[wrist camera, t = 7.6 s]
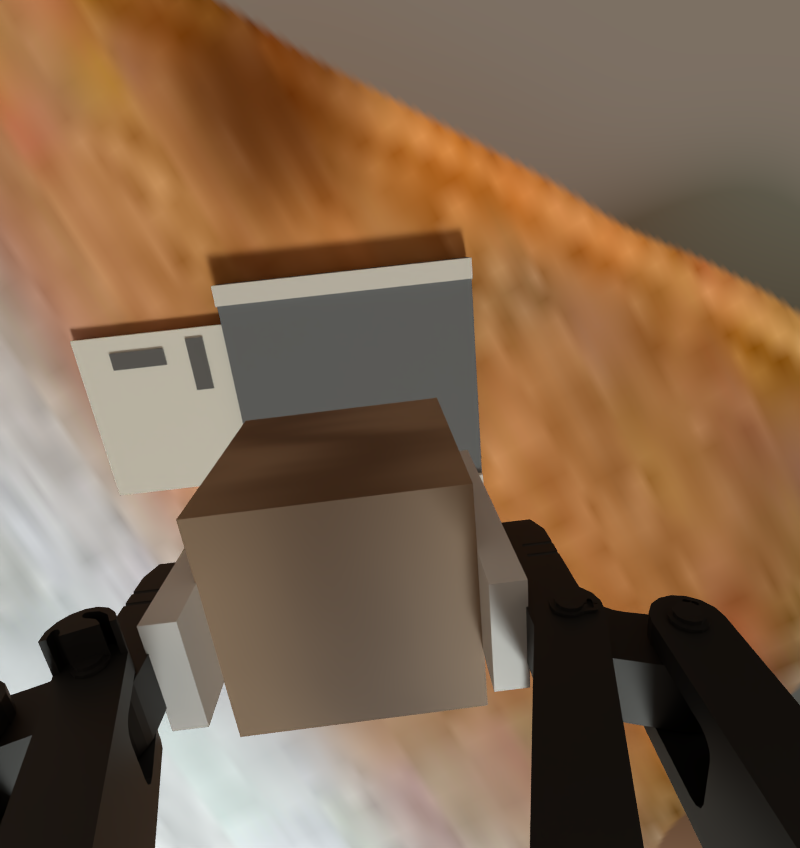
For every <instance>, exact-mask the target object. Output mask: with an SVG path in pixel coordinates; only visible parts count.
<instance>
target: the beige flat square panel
mask: <svg viewBox="0 0 800 848" xmlns="http://www.w3.org/2000/svg"><path fill="white" fill-rule="evenodd" d="M70 343H71V346H72V349H73V352H74V355H75V358H76V361H77V364H78V368H79V371H80V374H81V377H82V380H83V383H84V386H85V389H86V392H87V395H88V399H89V402H90V405H91V408H92V411H93V414H94V417H95V420H96V423H97V426H98V429H99V433H100V436H101V439H102V442H103V445H104V448H105V451H106V454H107V457H108V460H109V464H110V467H111V470H112V473H113V476H114V479H115V482H116V485H117V488H118V491H119V495H129V494H137V493H146V492H154V491H163V490H171V489H180V488H189V487H197V486H200V485H201V484H202V482H203V481H204V479H205V478H206V477H207V475H208V474H209V472H210V471H211V469H212V468H213V467H214V465H215V464H216V462H217V461H218V459H219V458H220V457H221V455H222V454H223V452H224V451H225V449H226V448H227V447H228V445H229V444H230V442H231V441H232V439H233V438H234V437H235V435H236V434H237V432H238V431H239V429H240V428H241V427H242V425H243V422H242V417H241V412H240V408H239V403H238V399H237V394H236V390H235V385H234V381H233V376H232V372H231V367H230V362H229V358H228V353H227V349H226V344H225V340H224V335H223V331H222V326H221V324H217V325H208V326H199V327H190V328H181V329H172V330H163V331H154V332H145V333H136V334H127V335H118V336H109V337H100V338H91V339H82V340H73V341H70Z"/></svg>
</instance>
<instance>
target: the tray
mask: <svg viewBox="0 0 800 848" xmlns="http://www.w3.org/2000/svg"><path fill="white" fill-rule="evenodd" d="M211 289H212V293H213V298H214V302H215V307H217V308H218V312H219V317H220V321H221V326H222V331H223V335H224V340H225V344H226V349H227V353H228V358H229V362H230V367H231V372H232V376H233V381H234V385H235V390H236V394H237V399H238V403H239V408H240V412H241V417H242V422H243V424H244V422H245V421H248V420H256V419H265V418H273V417H281V416H289V415H298V414H306V413H314V412H323V411H331V410H339V409H348V408H356V407H364V406H373V405H381V404H389V403H398V402H406V401H414V400H423V399H431V398H437V399H438V402H439V404H440V406H441V409H442V411H443V414H444V416H445V418H446V421H447V423H448V425H449V428H450V430H451V433H452V435H453V437H454V440H455V442H456V445H457V447H458V449H459V451H463V450H468V452H469V454H470V456H471V458H472V460H473V463H474V465H475V467H476V469H477V471H478V473H479V476H480V478H481V480H482V482H483V474H482V468H481V449H480V431H479V412H478V393H477V374H476V355H475V336H474V317H473V298H472V258H470V257H464V258H455V259H446V260H437V261H428V262H419V263H410V264H401V265H391V266H382V267H373V268H364V269H355V270H346V271H337V272H328V273H319V274H309V275H300V276H291V277H282V278H273V279H264V280H255V281H246V282H237V283H227V284H218V285H214V286H211Z"/></svg>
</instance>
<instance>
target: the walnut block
mask: <svg viewBox="0 0 800 848" xmlns="http://www.w3.org/2000/svg"><path fill="white" fill-rule="evenodd" d="M176 521H177V524H178V527H179V531H180V534H181V537H182V541H183V544H184V548H185V551H186V554H187V558H188V561H189V565H190V568H191V571H192V575H193V578H194V581H195V583H196V585H197V588H198V592H199V595H200V598H201V602H202V605H203V609H204V612H205V616H206V619H207V623H208V626H209V630H210V633H211V637H212V640H213V644H214V647H215V651H216V654H217V658H218V661H219V665H220V668H221V672H222V675H223V679H224V683H225V686H226V689H227V693H228V696H229V700H230V703H231V706H232V710H233V713H234V716H235V720H236V723H237V727H238V730H239V733H240V737H244V736H251V735H259V734H267V733H275V732H282V731H290V730H298V729H306V728H314V727H321V726H329V725H337V724H345V723H353V722H360V721H368V720H376V719H384V718H391V717H399V716H407V715H415V714H423V713H430V712H438V711H446V710H454V709H462V708H469V707H477V706H485V705H488V703H487V688H486V673H485V658H484V652H483V642H482V625H481V608H480V592H479V575H478V558H477V538H476V523H475V508H474V493H473V483H472V480H471V478H470V476H469V473H468V471H467V468H466V466H465V464H464V461H463V459H462V456H461V454H460V452H459V449H458V447H457V445H456V442H455V440H454V437H453V435H452V433H451V430H450V428H449V425H448V423H447V421H446V418H445V416H444V414H443V411H442V409H441V406H440V404H439V402H438V399H437V398H431V399H423V400H414V401H406V402H398V403H389V404H381V405H373V406H364V407H356V408H348V409H339V410H331V411H323V412H314V413H306V414H298V415H289V416H281V417H273V418H265V419H256V420H248V421H245V422H244V424H243V425H242V427H241V428H240V429H239V431H238V432H237V434H236V435H235V437H234V438H233V439H232V441H231V442H230V444H229V445H228V447H227V448H226V449H225V451H224V452H223V454H222V455H221V457H220V458H219V459H218V461H217V462H216V464H215V465H214V467H213V468H212V469H211V471H210V472H209V474H208V475H207V477H206V478H205V479H204V481H203V482H202V484H201V485H200V487H199V488H198V490H197V491H196V492H195V494H194V495H193V497H192V498H191V500H190V501H189V502H188V504H187V505H186V507H185V508H184V510H183V511H182V512H181V514H180V515H179V517H178V518H177V520H176Z"/></svg>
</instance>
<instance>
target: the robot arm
mask: <svg viewBox="0 0 800 848" xmlns="http://www.w3.org/2000/svg"><path fill="white" fill-rule="evenodd" d="M459 452H460V454H461V456H462V459H463V461H464V464H465V466H466V468H467V471H468V473H469V476H470V478H471V480H472V483H473V493H474V508H475V523H476V538H477V558H478V575H479V592H480V608H481V625H482V642H483V652H484V655H485V659H486V663H487V666H488V670H489V674H490V677H491V681H492V685H493V688H494V692H495V691H503V690H511V689H520V688H528V687H530V671H531V674H532V677H533V712H532V767H531V821H530V848H644V846H643V840H642V834H641V828H640V821H639V815H638V809H637V803H636V797H635V791H634V785H633V779H632V773H631V767H630V761H629V754H628V748H627V742H626V736H625V730H624V724H623V722H626V723H631V724H637V725H643V726H644V728H645V730H646V732H647V734H648V736H649V738H650V740H651V742H652V744H653V746H654V748H655V750H656V752H657V754H658V756H659V759H660V761H661V763H662V765H663V767H664V769H665V771H666V773H667V775H668V777H669V779H670V781H671V783H672V785H673V787H674V789H675V792H676V794H677V796H678V798H679V800H680V802H681V804H682V806H683V808H684V810H685V812H686V814H687V816H688V818H689V820H690V822H691V824H692V826H693V829H694V831H695V833H696V835H697V837H698V839H699V841H700V843H701V845H702V847H703V848H800V705H799V704H798V702H797V701H796V700H795V699H794V698H793V697H792V695H791V694H790V693H789V692H788V691H787V689H786V688H785V687H784V686H783V685H782V683H781V682H780V681H779V680H778V679H777V678H776V676H775V675H774V674H773V673H772V672H771V670H770V669H769V668H768V667H767V666H766V664H765V663H764V662H763V661H762V660H761V658H760V657H759V656H758V655H757V654H756V653H755V651H754V650H753V649H752V648H751V647H750V645H749V644H748V643H747V642H746V641H745V639H744V638H743V637H742V636H741V635H740V633H739V632H738V631H737V630H736V629H735V628H734V626H733V625H732V624H731V623H730V622H729V620H728V619H727V618H726V617H725V616H724V615H723V614H722V613H721V612H720V611H718V610H717V609H716V608H715V607H713V606H711V605H709V604H707V603H705V602H703V601H701V600H698V599H695V598H691V597H687V596H675V595H670V596H666V597H661V598H658V599H657V600H656V601H654V602H653V603H652V604H651V606H650V610H649V615H647V614H638V613H629V612H622V611H616V610H612V609H609V608H606V607H603V605H602V602H601V600H600V599H598V598H597V597H596V596H595V595H594V594H593V593H591V592H589V591H587V590H585V589H583V588H581V587H579V586H578V584H577V583H576V581H575V579H574V578H573V576H572V574H571V573H570V571H569V569H568V568H567V566H566V564H565V563H564V561H563V559H562V558H561V556H560V554H559V553H558V552H557V549H556V548H555V546H554V544H553V543H552V542H551V539H550V538H549V536H548V534H547V533H546V531H545V529H544V528H542V527H541V526H539V525H538V524H536V523H535V522H533V521H532V520H530V519H529V520H521V521H512V522H503V523H501V521H500V519H499V517H498V515H497V512H496V510H495V508H494V506H493V504H492V502H491V499H490V497H489V495H488V493H487V491H486V489H485V486H484V484H483V482H482V480H481V478H480V476H479V473H478V471H477V469H476V467H475V465H474V463H473V460H472V458H471V456H470V454H469V452H468V450H463V451H459ZM38 643H39V645H40V648H41V650H42V652H43V655H44V657H45V659H46V661H47V664H48V666H49V668H50V671H51V673H52V675H53V677H52V680H51V681H50V682H48V683H45V684H42V685H39V686H36V687H34V688H31V689H28V690H25V691H22V692H19V693H16V694H13V695H10V693H9V691H8V689H7V687H6V685H5V683H3V682H1V681H0V848H155V839H156V826H157V813H158V800H159V786H160V773H161V760H162V743H161V739H160V736H159V733H158V727H159V725H160V723H161V721H162V718H163V716H164V714H165V711H166V713H167V716H168V719H169V722H170V725H171V728H172V731H178V730H186V729H194V728H202V727H209V725H210V722H211V719H212V716H213V713H214V710H215V707H216V704H217V701H218V698H219V695H220V692H221V689H222V686H223V683H224V679H223V675H222V672H221V668H220V665H219V661H218V658H217V654H216V651H215V647H214V644H213V640H212V637H211V633H210V630H209V626H208V623H207V619H206V616H205V612H204V609H203V605H202V602H201V598H200V595H199V592H198V588H197V585H196V583H195V581H194V578H193V575H192V571H191V568H190V565H189V561H188V558H187V554H186V551H185V548H184V550H183V551H182V553H181V555H180V556H179V558H178V560H177V561H176V563H167V564H160V565H158V566H157V567H156V568H155V569H153V570H152V571H151V572H150V573H148V574H147V575H146V576H145V577H143V579H142V580H141V582H140V583H139V585H138V586H137V588H136V589H135V591H134V594H133V595H131V596H130V598H129V599H128V601H127V602H126V606H124V607H123V608H122V610H121V611H120V613H119V614H118V616H116V613H115V612H114V611H113V610H111V609H110V608H106V607H95V608H89V609H84V610H82V611H79V612H76V613H74V614H71V615H69V616H67V617H66V618H64V619H62V620H60V621H59V622H57V623H56V624H54V625H53V626H52V627H51V628H50V629H48V630H47V631H46V632H45V633H44V634H43V636H42V637H41V639H40V640H39V642H38Z"/></svg>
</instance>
